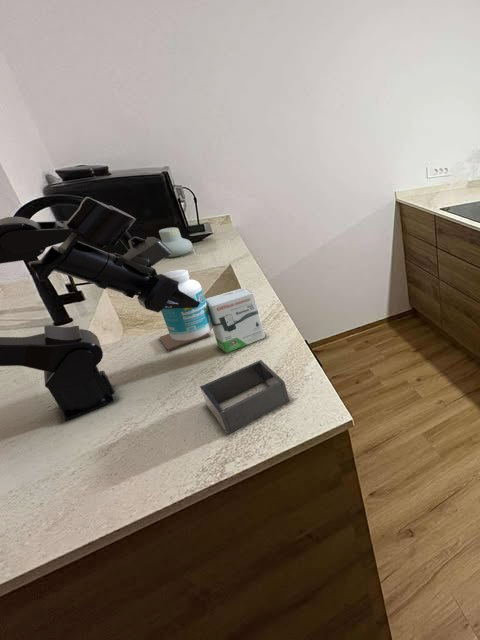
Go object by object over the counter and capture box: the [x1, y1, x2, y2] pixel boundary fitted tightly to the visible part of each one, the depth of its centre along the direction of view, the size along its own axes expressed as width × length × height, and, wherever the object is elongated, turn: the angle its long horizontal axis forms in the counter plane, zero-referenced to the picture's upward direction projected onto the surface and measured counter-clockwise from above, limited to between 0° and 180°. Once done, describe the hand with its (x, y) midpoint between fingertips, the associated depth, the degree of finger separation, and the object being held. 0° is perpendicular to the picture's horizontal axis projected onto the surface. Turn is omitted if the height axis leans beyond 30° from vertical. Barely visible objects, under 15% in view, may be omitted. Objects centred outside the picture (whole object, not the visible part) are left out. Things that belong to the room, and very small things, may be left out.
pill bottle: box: [160, 269, 213, 340], centre depth 77 cm, size 8×7×14 cm
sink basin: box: [199, 359, 290, 435], centre depth 67 cm, size 10×10×4 cm
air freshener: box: [158, 227, 193, 258], centre depth 141 cm, size 11×8×10 cm
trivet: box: [159, 332, 211, 352], centre depth 89 cm, size 8×8×1 cm
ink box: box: [205, 287, 266, 354], centre depth 84 cm, size 9×5×12 cm, turn 140°
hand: (190, 300), depth 78 cm, fingers closed on pill bottle, 7 cm apart
